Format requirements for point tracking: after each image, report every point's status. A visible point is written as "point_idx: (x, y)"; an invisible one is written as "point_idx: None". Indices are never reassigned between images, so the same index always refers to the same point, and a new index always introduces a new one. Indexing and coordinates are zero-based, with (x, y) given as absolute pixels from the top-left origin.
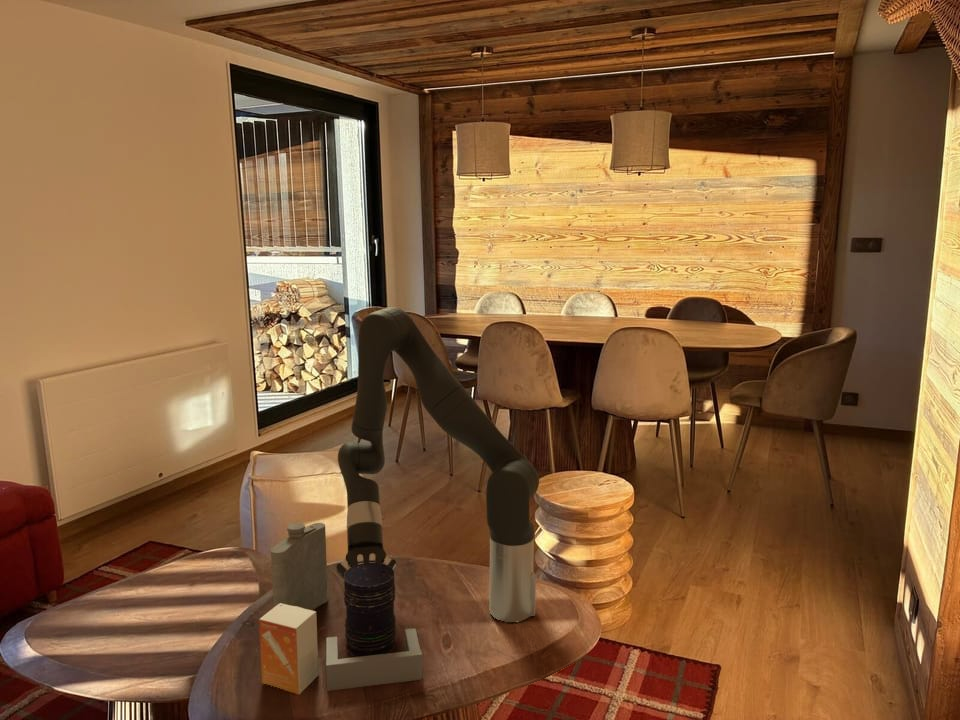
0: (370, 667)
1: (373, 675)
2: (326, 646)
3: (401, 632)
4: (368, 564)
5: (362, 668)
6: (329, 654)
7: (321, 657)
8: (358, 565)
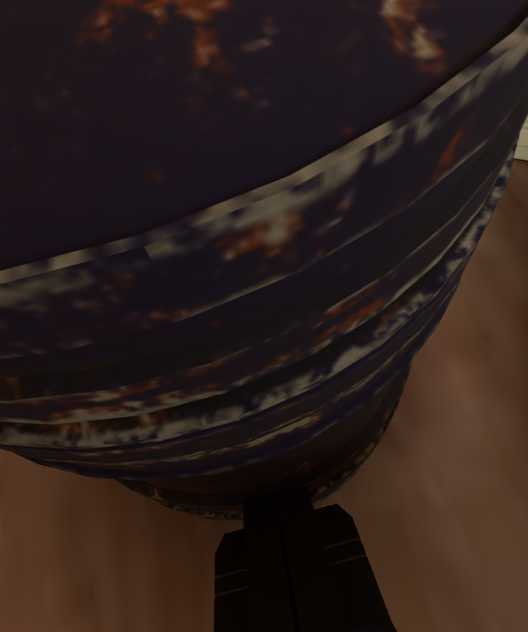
0: None
1: None
2: None
3: (87, 516)
4: (61, 214)
5: None
6: None
7: (475, 253)
8: (426, 119)
